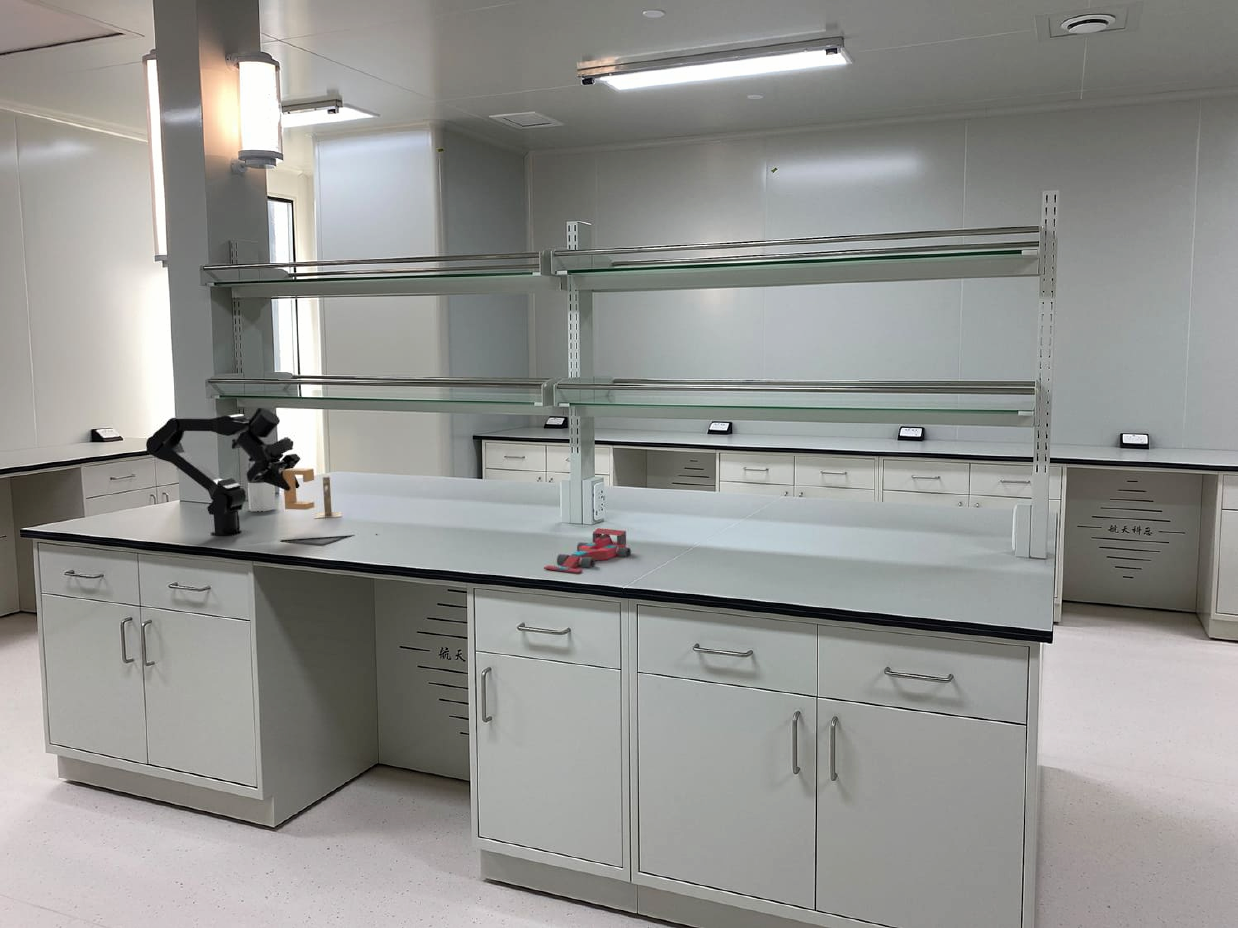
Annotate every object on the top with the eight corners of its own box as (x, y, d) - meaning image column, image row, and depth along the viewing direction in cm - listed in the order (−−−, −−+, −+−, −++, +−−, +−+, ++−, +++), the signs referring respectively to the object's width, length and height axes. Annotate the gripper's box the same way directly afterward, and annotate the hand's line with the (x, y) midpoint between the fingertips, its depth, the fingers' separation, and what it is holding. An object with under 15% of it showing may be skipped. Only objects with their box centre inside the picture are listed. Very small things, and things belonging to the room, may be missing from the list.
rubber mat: (322, 545, 262) (322, 543, 262) (281, 542, 267) (281, 540, 267) (355, 535, 275) (355, 533, 275) (315, 532, 280) (315, 530, 280)
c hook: (285, 509, 272) (282, 470, 271) (293, 506, 276) (290, 468, 274) (308, 509, 270) (305, 470, 269) (315, 507, 274) (313, 468, 273)
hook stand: (313, 529, 284) (310, 485, 282) (315, 517, 303) (312, 475, 301) (341, 527, 286) (339, 483, 284) (342, 515, 305) (339, 474, 303)
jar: (243, 511, 314) (240, 475, 313) (255, 507, 323) (252, 471, 321) (270, 511, 314) (267, 475, 312) (281, 507, 322) (278, 471, 320)
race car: (534, 546, 232) (588, 527, 254) (535, 570, 233) (588, 549, 255) (585, 551, 225) (636, 531, 247) (586, 577, 226) (636, 555, 248)
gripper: (253, 432, 263) (291, 473, 262) (292, 425, 281) (328, 464, 280) (229, 460, 266) (268, 501, 265) (270, 452, 284) (306, 490, 283)
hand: (294, 488), depth 273 cm, fingers closed on c hook, 4 cm apart
